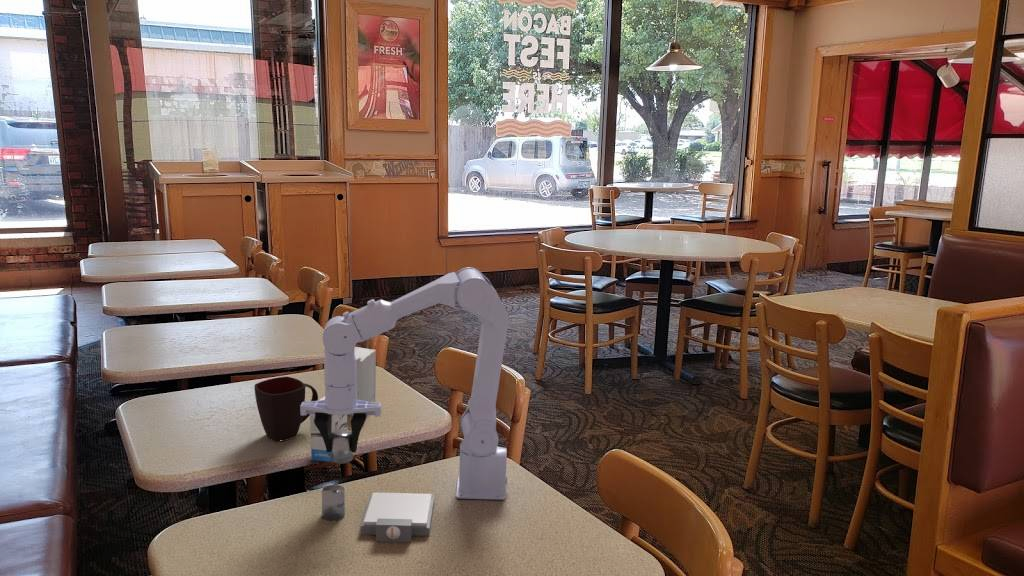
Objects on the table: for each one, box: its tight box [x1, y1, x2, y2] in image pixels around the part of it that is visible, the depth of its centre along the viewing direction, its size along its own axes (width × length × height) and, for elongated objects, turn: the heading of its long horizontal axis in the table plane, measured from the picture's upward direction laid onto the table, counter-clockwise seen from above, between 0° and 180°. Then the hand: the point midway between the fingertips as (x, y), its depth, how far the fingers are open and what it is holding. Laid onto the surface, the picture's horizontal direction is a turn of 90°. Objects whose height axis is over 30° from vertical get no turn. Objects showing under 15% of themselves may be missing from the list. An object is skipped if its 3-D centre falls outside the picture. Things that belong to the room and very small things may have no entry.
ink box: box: [309, 395, 348, 463], centre depth 157 cm, size 9×5×12 cm, turn 168°
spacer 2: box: [321, 484, 346, 522], centre depth 134 cm, size 4×4×5 cm
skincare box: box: [351, 346, 377, 417], centre depth 179 cm, size 8×6×15 cm
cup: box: [253, 376, 319, 442], centre depth 165 cm, size 10×14×12 cm
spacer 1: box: [331, 429, 354, 465], centre depth 138 cm, size 4×4×5 cm
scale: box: [360, 491, 435, 543], centre depth 133 cm, size 12×13×3 cm
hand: (342, 449), depth 138 cm, fingers closed on spacer 1, 4 cm apart
